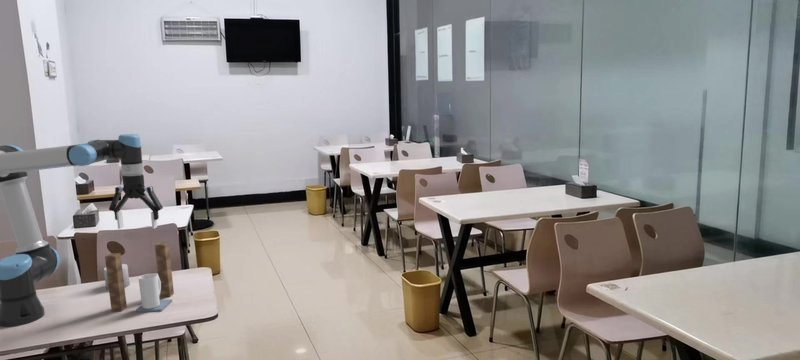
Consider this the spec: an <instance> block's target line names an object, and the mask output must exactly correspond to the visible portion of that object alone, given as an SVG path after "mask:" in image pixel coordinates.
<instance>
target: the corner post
mask: <svg viewBox="0 0 800 360" xmlns="http://www.w3.org/2000/svg"><path fill="white" fill-rule="evenodd" d="M104 260H105V262H104V263H105V267H106V270H107V278H108V286H109V290H108V292H109V295H108V296H109V300H110V309H111V312H123V311H124V310H125V309H126V308H127V306H128V305H127V297H126V290H125V289H126V288H124V279H123V271H122V264H123V263H122V255H121V253H120V252H116V253H115V252H114V253H111V252H110V253H108V254H106V255H105V256H104Z"/></svg>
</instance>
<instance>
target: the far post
mask: <svg viewBox="0 0 800 360" xmlns="http://www.w3.org/2000/svg"><path fill="white" fill-rule="evenodd" d="M154 251H155V252H154V253H155V260H156V271H157V275H158V276H159V278H160V281H161V291H160V295H159V298H170V297H172V296H173V295H174V294H175V290H174V281H173V271H172V261H171V252H170V243H169V242H166V241H165V242H163V241H162V242H160V241H159V242H158V243H156V244H155V245H154Z"/></svg>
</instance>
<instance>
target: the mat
mask: <svg viewBox="0 0 800 360" xmlns="http://www.w3.org/2000/svg"><path fill="white" fill-rule="evenodd" d="M159 301H160V305H159V306H158V307H155V308H151V309H144V308H143V307H142V304H141V305H139V306H138V307H137V308H136V309H135V312H136V313H139V312H140V313H142V312H143V313H144V312H146V313H147V312H163V311H164V310H165V309H166V308H167V307H168V306H169V305H170V304H171V303H172V302H173V299H159Z"/></svg>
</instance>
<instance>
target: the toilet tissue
mask: <svg viewBox="0 0 800 360" xmlns="http://www.w3.org/2000/svg"><path fill="white" fill-rule="evenodd" d="M122 271H123V279H124V288H125V289H126V288H127V287H129V286H130V285H131V284H130V277H129V267H128V264H126V263H122ZM103 274H104V281H105V288H106V290H108V291H109V286H108V278H107V270H106V266H105V267H104V268H103Z"/></svg>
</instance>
